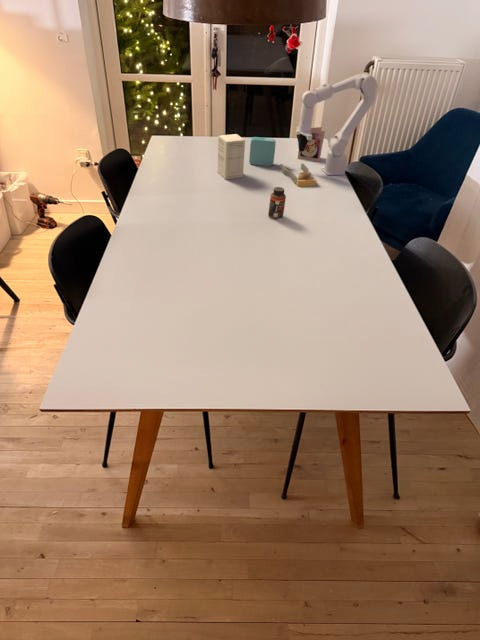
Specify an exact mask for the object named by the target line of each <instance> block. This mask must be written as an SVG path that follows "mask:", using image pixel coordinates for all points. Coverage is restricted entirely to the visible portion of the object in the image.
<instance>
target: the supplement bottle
mask: <svg viewBox="0 0 480 640" xmlns="http://www.w3.org/2000/svg"><path fill="white" fill-rule="evenodd" d="M269 197H270V199H269V207H268V213H267V214H268V217H269V218H270V219H274V220H281V219H282V218H283V217H284V213H285V205H286V199H287V196H286V194H285V188H283V187H281V186H275V187H273V192H271V194H270V196H269Z"/></svg>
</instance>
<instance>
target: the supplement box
mask: <svg viewBox="0 0 480 640" xmlns="http://www.w3.org/2000/svg"><path fill="white" fill-rule="evenodd" d="M217 136H218V138H217V141H218V143H217V173H218V174H219V175H220V176H221V177H222V178H223V179H224V180H231V179H233V180H234V179H239V178H243V177H244V168H245V167H244V166H245V165H244V164H245V149H246V148H245V147H246V139H244V138H243V137H241V136H240V135H239V134H238V133H234V134H233V133H232V134H224V135H222V134H221V135H217Z"/></svg>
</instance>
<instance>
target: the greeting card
mask: <svg viewBox="0 0 480 640" xmlns="http://www.w3.org/2000/svg"><path fill="white" fill-rule="evenodd" d="M325 133H326V131H325V130H322V127H321V126H320V127H311V135H312V140H309V141H308V143H307V145H306V147H305V150H304V151H301V152H300V151H299V150H298V152H297V153H298V154H297V160H298V159H299V160H305V161H312V162H318V163H319V162H320V161H321V156H322V150H323V144H324V140H325Z"/></svg>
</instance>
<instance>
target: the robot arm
mask: <svg viewBox="0 0 480 640" xmlns="http://www.w3.org/2000/svg"><path fill="white" fill-rule="evenodd" d="M352 88H353V89H355V90H359V91H360V96H361V99H360V101H359V102H358V104H357V105H356V107H355V108H354V110H353V112H352V113H351V114H350V116H349V117H348V118H347V120H346V121H345V123H344V125H343V126H342V128H341V129H340V130H338V132H337V133H335V134H334V136H333V137H331V138H330V139H329V141H328V143H327V144H328V148H329V149H328V151H327V155H326V161H325V165H324V168H321V170H322V172H324V174H325V175H326V176H341V175H343V176H345V175H346V173H345V172H346V167H347V163H348V155H347V154H346V153H345V152H346V149H347V146H348V145H349V139H350V137H351V136H352V134H353V133H354V131H355V130H356V129H357V128H358V126H359V124H360V123H361V122H362V120H363V118H364V117H365V116H366V114H367V112H368V111H369V110H370V109H371V107H372V105H373V104H374V102H375V99H376V92H377V89H378V83H377V80H376V77H375V76H372V75H371V74H370V73H369V72H366V71H364V72H361V73H357V74H354V75H352V76H350V77H348V78H345V79H344V80H342V81H339V82H337V83H334V84H333V85H331V84H329V83H322V85H321V86H319V87H317V88H314V87H313V88H312V89H311V90H306V91H304V93H302V95H301V97H300V98H301V101H302V103H301V108H300V116H299V122H298V125H297V126H296V129H295V133H296V138H297V143H298V145H297V146H298V152H299V151H300V152H301V151H304V150H305V147H306V145H307V143H308V141H309V140H312V135H311V128H312V123H313V119H314V111H315V110H314V108H315V106H316V104H318V103H321V102H324V101H326V100H329V99H331V98H332V97H333V96H334V94H337V93H340V92H343V91H346V90H348V89H352Z"/></svg>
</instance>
